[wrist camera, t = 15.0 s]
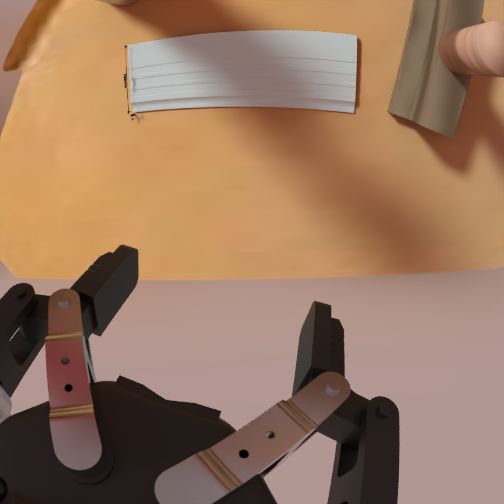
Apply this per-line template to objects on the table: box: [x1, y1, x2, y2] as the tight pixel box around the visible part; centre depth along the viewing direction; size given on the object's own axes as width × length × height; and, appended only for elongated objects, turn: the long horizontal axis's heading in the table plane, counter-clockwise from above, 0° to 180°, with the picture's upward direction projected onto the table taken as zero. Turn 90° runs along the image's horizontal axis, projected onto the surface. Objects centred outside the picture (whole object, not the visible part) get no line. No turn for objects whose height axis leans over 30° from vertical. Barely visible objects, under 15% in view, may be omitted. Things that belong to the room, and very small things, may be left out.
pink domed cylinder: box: [439, 21, 504, 77], centre depth 20 cm, size 5×5×10 cm
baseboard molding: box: [124, 30, 357, 120], centre depth 37 cm, size 31×3×12 cm
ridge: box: [388, 0, 484, 139], centre depth 27 cm, size 9×20×8 cm, turn 169°
